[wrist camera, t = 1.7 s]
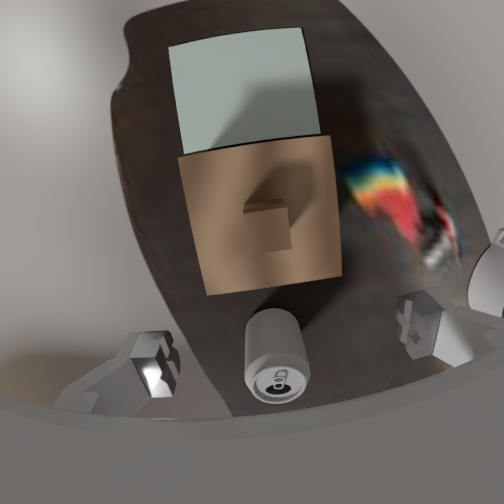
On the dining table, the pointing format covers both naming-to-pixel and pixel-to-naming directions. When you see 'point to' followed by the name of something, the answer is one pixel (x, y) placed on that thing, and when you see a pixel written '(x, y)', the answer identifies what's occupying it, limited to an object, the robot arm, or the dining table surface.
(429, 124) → the dining table surface
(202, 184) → the lid
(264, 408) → the dining table surface
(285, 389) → the can
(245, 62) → the mat
